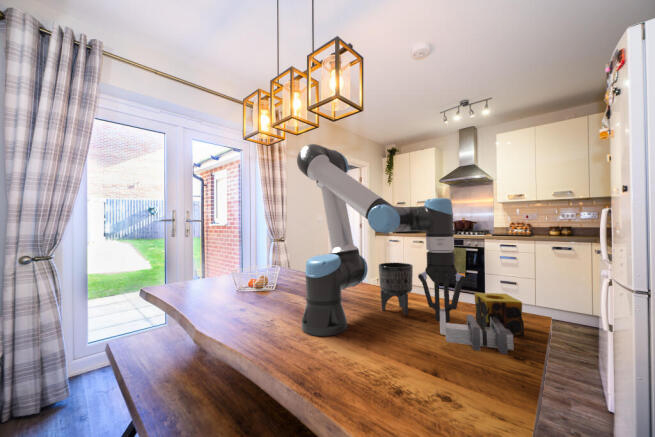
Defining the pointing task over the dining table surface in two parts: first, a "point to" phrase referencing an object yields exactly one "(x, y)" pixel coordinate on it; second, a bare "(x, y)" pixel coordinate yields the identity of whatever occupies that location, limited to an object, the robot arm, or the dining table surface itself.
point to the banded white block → (487, 335)
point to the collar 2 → (500, 335)
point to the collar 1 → (474, 332)
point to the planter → (395, 283)
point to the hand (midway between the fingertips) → (443, 332)
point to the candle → (499, 311)
